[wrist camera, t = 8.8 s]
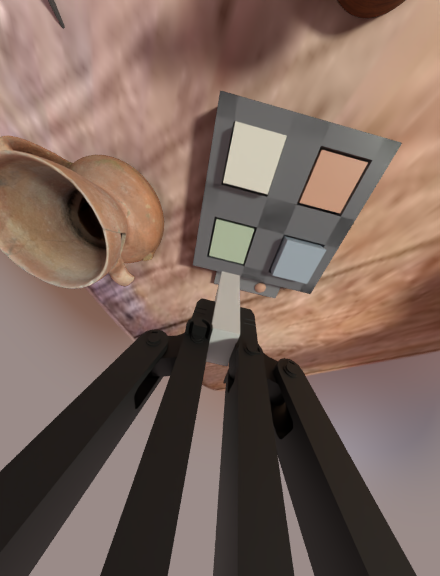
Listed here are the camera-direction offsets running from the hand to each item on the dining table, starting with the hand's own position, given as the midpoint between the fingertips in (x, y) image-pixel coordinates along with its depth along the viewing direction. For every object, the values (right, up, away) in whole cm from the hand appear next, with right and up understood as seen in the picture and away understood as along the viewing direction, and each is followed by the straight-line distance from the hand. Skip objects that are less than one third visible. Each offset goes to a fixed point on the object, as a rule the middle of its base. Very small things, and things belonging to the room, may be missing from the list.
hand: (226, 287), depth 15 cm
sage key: (+1, +8, +13) cm, 15 cm away
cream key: (+3, +15, +6) cm, 17 cm away
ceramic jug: (-16, +13, +13) cm, 25 cm away
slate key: (+11, +5, +12) cm, 17 cm away
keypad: (+7, +11, +12) cm, 18 cm away
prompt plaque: (+4, +1, +18) cm, 19 cm away
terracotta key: (+13, +14, +8) cm, 21 cm away
